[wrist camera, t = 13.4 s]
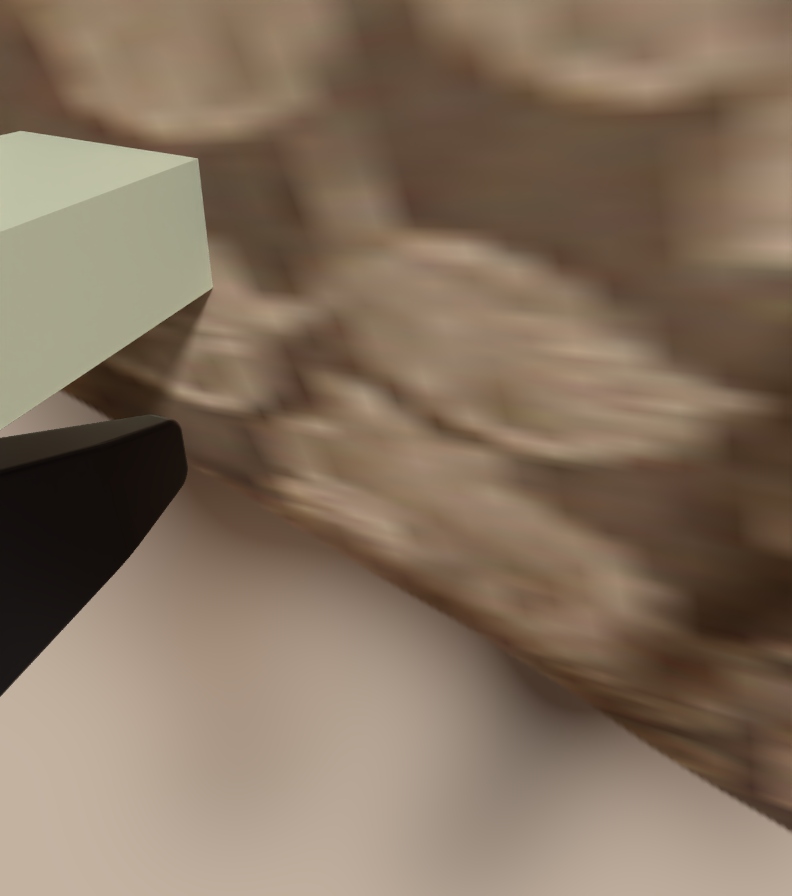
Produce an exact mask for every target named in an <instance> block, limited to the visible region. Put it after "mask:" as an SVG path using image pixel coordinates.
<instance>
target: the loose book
mask: <svg viewBox="0 0 792 896" xmlns="http://www.w3.org/2000/svg"><path fill="white" fill-rule="evenodd" d="M212 288H213V284H212V276H211V267H210V259H209V250H208V241H207V233H206V224H205V216H204V207H203V198H202V190H201V181H200V172H199V164H198V158H192V157H185V156H179V155H172V154H166V153H159V152H153V151H147V150H140V149H134V148H127V147H121V146H114V145H108V144H101V143H95V142H89V141H82V140H76V139H69V138H63V137H56V136H50V135H44V134H37V133H31V132H24V131H18V132H14V133H10V134H5V135H1V136H0V430H1V429H3V428H4V427H6V426H7V425H9V424H10V423H12V422H13V421H15V420H16V419H18V418H19V417H21V416H22V415H24V414H25V413H27V412H28V411H30V410H31V409H33V408H34V407H36V406H37V405H39V404H40V403H41V402H43V401H45V400H46V399H47V398H49V397H50V396H52V395H54V394H55V393H57V392H58V391H60V390H61V389H63V388H64V387H65V386H67V385H68V384H70V383H71V382H73V381H74V380H76V379H77V378H79V377H80V376H82V375H83V374H85V373H86V372H88V371H89V370H91V369H92V368H94V367H95V366H97V365H98V364H100V363H101V362H103V361H104V360H106V359H107V358H109V357H110V356H112V355H113V354H115V353H116V352H118V351H119V350H121V349H122V348H124V347H125V346H127V345H128V344H130V343H131V342H133V341H134V340H136V339H137V338H139V337H140V336H142V335H143V334H145V333H146V332H148V331H149V330H151V329H152V328H154V327H155V326H157V325H158V324H160V323H161V322H163V321H164V320H166V319H167V318H169V317H170V316H171V315H173V314H174V313H176V312H177V311H179V310H180V309H182V308H183V307H185V306H186V305H188V304H189V303H191V302H192V301H194V300H195V299H197V298H198V297H200V296H201V295H203V294H204V293H206V292H207V291H209V290H210V289H212Z"/></svg>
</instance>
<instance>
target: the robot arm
mask: <svg viewBox="0 0 792 896" xmlns="http://www.w3.org/2000/svg"><path fill="white" fill-rule="evenodd" d="M187 471H188V465H187V459H186V453H185V447H184V441H183V435H182V430H181V427H180V425H179V423H178V422H176V421H175V420H172V419H169V418H165V417H161V416H157V415H144V416H137V417H131V418H125V419H118V420H112V421H106V422H99V423H92V424H86V425H81V426H73V427H67V428H60V429H54V430H47V431H41V432H35V433H28V434H22V435H16V436H9V437H2V438H0V696H1V695H2V694H3V693H4V692H5V691H6V690H7V689H8V688H9V687H10V686H11V685H12V684H13V683H14V681H15V680H16V679H17V678H18V677H19V676H20V675H21V674H22V673H23V672H24V671H25V670H26V669H27V667H28V666H29V665H30V664H31V663H32V662H33V661H34V660H35V659H36V658H37V657H38V656H39V655H40V653H41V652H42V651H43V650H44V649H45V648H46V647H47V646H48V645H49V644H50V643H51V641H52V640H53V639H54V638H55V637H56V636H57V635H58V634H59V633H60V632H61V631H62V630H63V629H64V628H65V627H66V625H67V624H68V623H69V622H70V621H71V620H72V619H73V618H74V617H75V616H76V615H77V614H78V613H79V611H80V610H81V609H82V608H83V607H84V606H85V605H86V604H87V603H88V602H89V601H90V600H91V598H92V597H93V596H94V595H95V594H96V593H97V592H98V591H99V590H100V589H101V588H102V587H103V585H104V584H105V583H106V582H107V581H108V580H109V579H110V578H111V577H112V576H113V575H114V574H115V573H116V572H117V570H118V569H119V568H120V567H121V566H122V565H123V563H125V561H126V560H127V559H128V558H129V557H130V555H131V554H132V553H133V552H134V550H135V549H136V548H137V547H138V545H139V544H140V543H141V541H142V540H143V539H144V537H145V536H146V535H147V533H148V532H149V531H150V529H151V528H152V526H153V525H154V524H155V523H156V521H157V520H158V519H159V517H160V516H161V514H162V513H163V512H164V510H165V509H166V508H167V506H168V505H169V503H170V502H171V501H172V500H173V498H174V497H175V496H176V494H177V493H178V491H179V490H180V488H181V487H182V486H183V484H184V482H185V479H186V476H187Z"/></svg>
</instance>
